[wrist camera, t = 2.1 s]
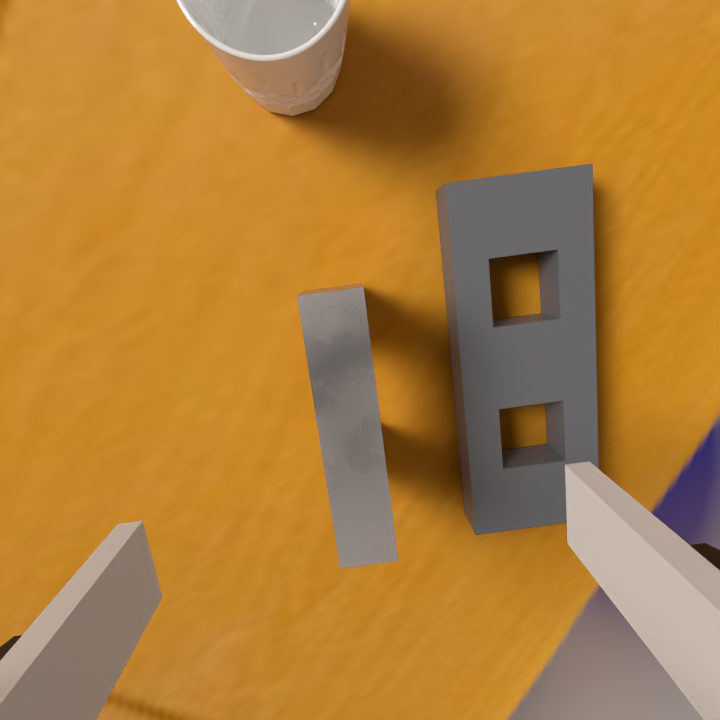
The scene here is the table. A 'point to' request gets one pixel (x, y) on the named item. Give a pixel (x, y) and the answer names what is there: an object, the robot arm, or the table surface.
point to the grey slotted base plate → (521, 339)
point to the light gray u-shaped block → (349, 423)
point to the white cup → (276, 47)
